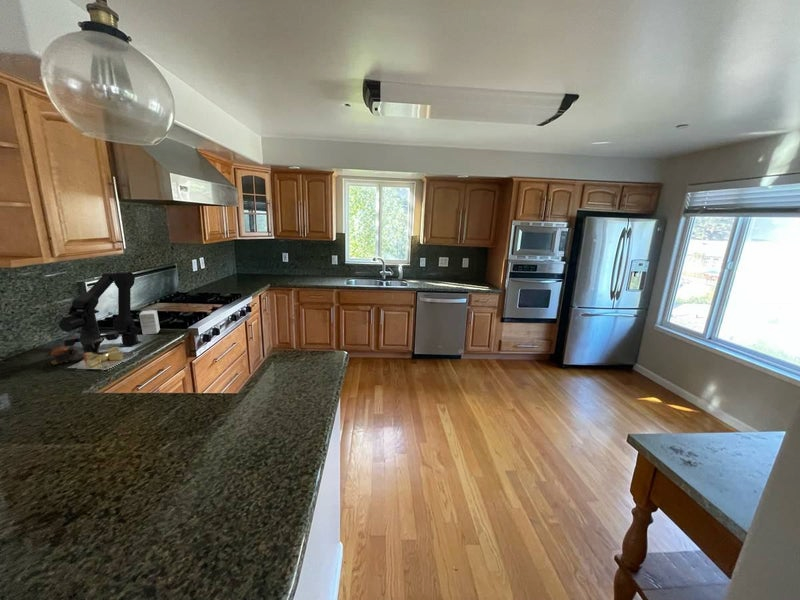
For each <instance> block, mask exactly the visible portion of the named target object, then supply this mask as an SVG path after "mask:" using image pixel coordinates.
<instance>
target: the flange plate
mask: <svg viewBox="0 0 800 600" xmlns="http://www.w3.org/2000/svg"><path fill="white" fill-rule="evenodd" d="M121 352H122V354H123V359H121V360H107V361H102V362H100V363H98V364H96V365H94V366H92V367H88V365H87V361H86V360H84V358H83V359H82V360H80V361H79V362H78V361H77V363H74V364H72V365H70V366H68V367H66V369H67V368H77V369H109V368H112V367H114V366H116V365H118V364H120V363H122V362H124V363H126V362H128V360H131V359H133V358H135V357H136V356H138V355H139V352H137V351H136V352H135V351H133V352H131V351H121ZM122 364H123V363H122ZM120 365H121V364H120ZM118 366H119V365H118ZM116 367H117V366H116ZM114 368H115V367H114ZM112 369H113V368H112Z"/></svg>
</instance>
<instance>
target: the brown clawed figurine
mask: <svg viewBox="0 0 800 600" xmlns="http://www.w3.org/2000/svg"><path fill="white" fill-rule="evenodd" d="M78 349H79V348H76V347H69V346H64V345H61V346H58V347H57V346H56V347H53V348H50V349H48V350H46V354H45V358H46V359H47V358H48V357H53V358H54V359H53V360H51V361H50V362H51V364H52V363H60V362H65V361H69V362H70V360H73V359H74V358H75V357H77V355H78V353H79V350H78ZM60 364H61V363H60Z"/></svg>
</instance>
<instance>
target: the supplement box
mask: <svg viewBox="0 0 800 600" xmlns="http://www.w3.org/2000/svg"><path fill="white" fill-rule="evenodd" d="M138 315H139V322H140V327H141V328H140V329H141V332H142V335H143V336H145V335H154V334H158V333H159V331H160V330H161V328H160V321H159V315H158V310H157V309H156V310H155V309H152V310H143V311H141V312H140V313H139V314H138Z"/></svg>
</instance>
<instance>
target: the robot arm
mask: <svg viewBox="0 0 800 600" xmlns="http://www.w3.org/2000/svg"><path fill="white" fill-rule="evenodd" d="M135 279H136V276H135V274H134V273H133V272H131V271H117V272H115V273H113V272H104V273H102V275H101V277H99V279H98V280H97V281H96V282H94V284H93V285H92V286H91V287H90V288H89V290H87V291H86V292H85V293H83V294H81V295H79V296H77V297H76V298H75V299H73V300H72V303H71V306H70V308H69V311H68V313H67V315H65V316H62V317H61V320H60V321H59V324H58V327H59V328H60V330H62V331H63V332H65V333H69V332H72V331H76V330H78V329H80V334H79V336H78V335H76V336H75V335H74V336H68V337H67V338H65V339H64V340H63V346H68V347H70V346H71V347H72V346H74V345H75V344H76V343H80V344H81V346H85V347H87V348H88V349H89V350H90V351H91V352H100V351H99V350H100V346H101V344H102V343H103V342H105V340H106V341H114V340H117V339H118V338H119V337H120V335H121V342H122V344H120V347H134V346H136V345H138V344H139V343H142V341H141V340H139V338H138V334H139V333H141V328H140V327H139V326H137V325H136V324H135V323H136V322H135V320H134V318H133V317H132V314H131V312H132V311H131V310H132V309H131V299H132V298H131V296H132V295H131V289H132V288H133V286H134V285H135V282H136V281H135ZM113 283H114V285H115V286H116V288H117V293H118V294H117V299H118V300H117V302H118V303H117V307H118V308H117V309H118V313H117V317H116V318H115V319H113V320H112V328H113V331H107V332H106V333H105V334H101V332H100V330H99V324H98V321H97V317H96V314H98V313H100V311H99V310H97V309H96V307H97V306H98V304H99V302H100V301H99V299H100V298H101V296H102V295H103V294H104V293H105V292H106V291H107V290H108V288H109V287H110V286H111V285H112V284H113Z"/></svg>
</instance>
